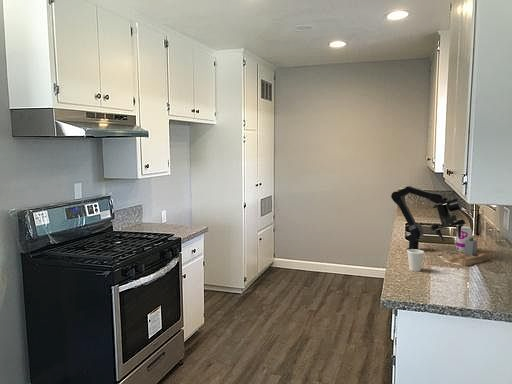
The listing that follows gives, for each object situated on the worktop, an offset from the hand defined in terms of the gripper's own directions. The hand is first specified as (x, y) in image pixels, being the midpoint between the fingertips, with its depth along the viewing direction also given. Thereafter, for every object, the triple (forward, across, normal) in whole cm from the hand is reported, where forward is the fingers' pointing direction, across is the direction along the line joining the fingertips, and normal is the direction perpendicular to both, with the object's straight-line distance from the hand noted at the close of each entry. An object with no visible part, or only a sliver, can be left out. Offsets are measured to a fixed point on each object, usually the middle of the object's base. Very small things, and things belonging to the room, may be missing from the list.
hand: (451, 239), depth 250 cm
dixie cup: (+14, -28, -28) cm, 42 cm away
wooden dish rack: (+14, +2, -6) cm, 15 cm away
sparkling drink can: (+7, +9, +20) cm, 23 cm away
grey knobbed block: (+12, +6, -2) cm, 14 cm away
